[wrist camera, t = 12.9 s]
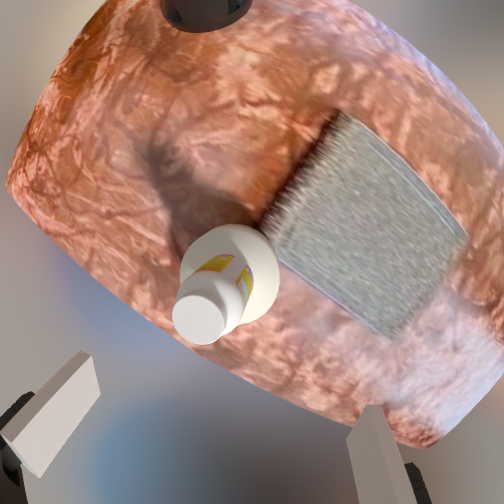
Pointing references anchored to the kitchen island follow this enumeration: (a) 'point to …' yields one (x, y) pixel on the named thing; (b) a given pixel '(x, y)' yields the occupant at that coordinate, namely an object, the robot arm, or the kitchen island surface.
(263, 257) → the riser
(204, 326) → the supplement bottle
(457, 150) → the kitchen island surface
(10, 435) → the robot arm
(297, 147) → the kitchen island surface
